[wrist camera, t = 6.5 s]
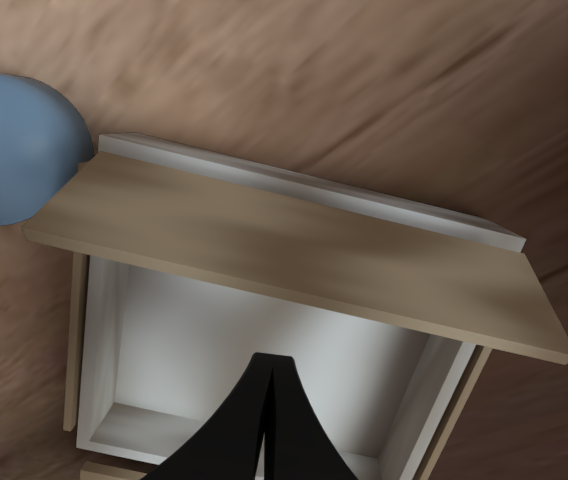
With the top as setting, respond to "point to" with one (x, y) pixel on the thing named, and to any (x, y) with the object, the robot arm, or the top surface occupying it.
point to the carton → (261, 340)
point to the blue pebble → (36, 146)
